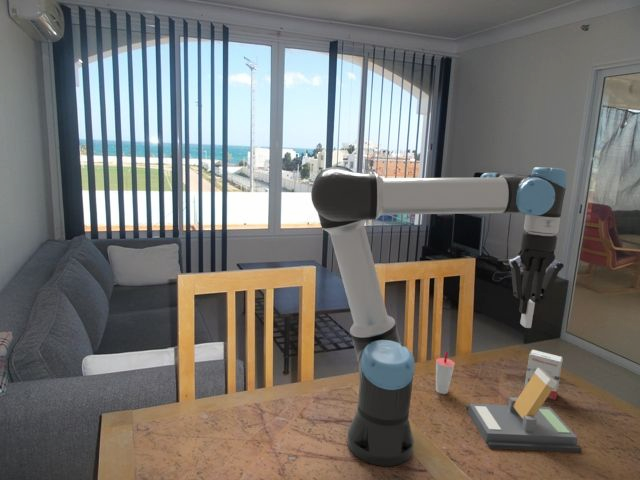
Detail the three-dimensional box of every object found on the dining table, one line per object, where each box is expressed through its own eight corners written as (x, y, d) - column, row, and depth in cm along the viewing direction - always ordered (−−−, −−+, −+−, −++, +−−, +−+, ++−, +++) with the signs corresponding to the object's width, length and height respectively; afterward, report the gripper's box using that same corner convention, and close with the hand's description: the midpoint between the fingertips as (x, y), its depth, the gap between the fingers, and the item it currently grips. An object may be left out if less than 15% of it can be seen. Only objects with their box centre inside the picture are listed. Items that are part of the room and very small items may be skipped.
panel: (485, 442, 110) (489, 421, 109) (467, 411, 122) (470, 392, 121) (575, 446, 110) (580, 425, 109) (548, 415, 123) (551, 396, 122)
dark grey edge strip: (489, 448, 108) (489, 444, 108) (487, 445, 109) (488, 441, 109) (580, 451, 108) (581, 448, 108) (578, 449, 109) (579, 445, 109)
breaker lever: (522, 421, 113) (550, 379, 110) (511, 407, 119) (537, 367, 117) (529, 425, 113) (557, 383, 111) (518, 410, 119) (544, 370, 117)
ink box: (557, 393, 135) (563, 356, 133) (555, 400, 131) (562, 362, 129) (525, 384, 140) (531, 348, 138) (523, 390, 136) (529, 353, 133)
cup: (438, 384, 136) (443, 346, 134) (454, 391, 133) (460, 353, 130) (428, 389, 133) (433, 351, 130) (445, 397, 129) (450, 358, 127)
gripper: (520, 234, 106) (505, 330, 110) (575, 237, 106) (559, 333, 111) (506, 228, 113) (493, 318, 118) (558, 231, 113) (543, 321, 118)
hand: (525, 325), depth 114 cm, fingers closed
